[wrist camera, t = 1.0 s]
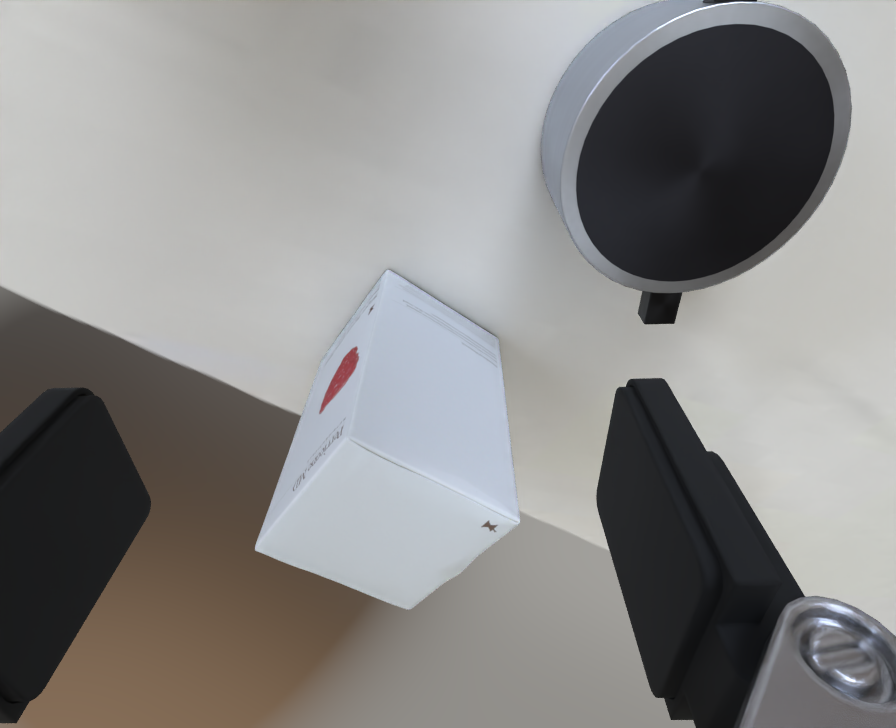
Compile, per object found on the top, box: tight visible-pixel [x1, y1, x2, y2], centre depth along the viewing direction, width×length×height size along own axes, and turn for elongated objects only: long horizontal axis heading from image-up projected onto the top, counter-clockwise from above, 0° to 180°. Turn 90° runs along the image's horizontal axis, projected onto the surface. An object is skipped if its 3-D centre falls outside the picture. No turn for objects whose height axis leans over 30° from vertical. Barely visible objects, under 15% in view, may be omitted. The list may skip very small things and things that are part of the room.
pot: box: [541, 0, 852, 324], centre depth 25 cm, size 16×12×6 cm
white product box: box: [255, 270, 520, 610], centre depth 29 cm, size 9×9×15 cm
